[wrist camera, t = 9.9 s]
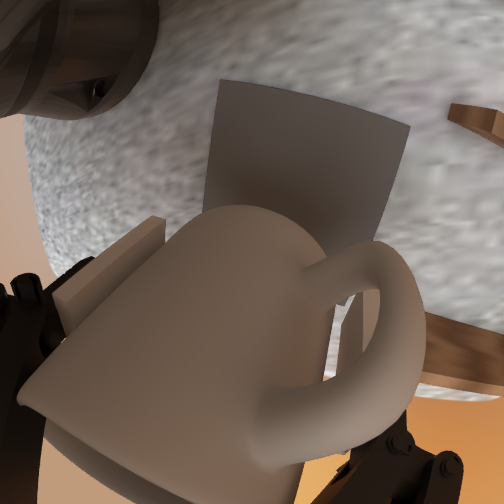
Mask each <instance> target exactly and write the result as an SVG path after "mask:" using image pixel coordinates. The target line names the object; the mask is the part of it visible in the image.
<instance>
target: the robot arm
mask: <svg viewBox="0 0 504 504" xmlns="http://www.w3.org/2000/svg"><path fill="white" fill-rule="evenodd" d="M158 14H159V13H158V3H157V0H0V118H3V117H7V116H10V115H14V114H27V115H34V116H40V117H47V118H53V119H59V120H78V119H82V118H86V117H91V116H95V115H98V114H101V113H103V112H105V111H107V110H109V109H111V108H112V107H114V106H115V105H116V104H117V103H119V102H120V101H121V100H122V99H123V98H124V97H125V96H126V95H127V94H128V93H129V92H130V90H131V89H132V88H133V87H134V85H135V84H136V82H137V81H138V79H139V78H140V76H141V74H142V73H143V71H144V69H145V67H146V65H147V63H148V61H149V58H150V56H151V53H152V50H153V47H154V43H155V40H156V35H157V29H158ZM165 227H166V219H162V218H159V217H156V216H151V217H149V218H148V219H147V220H145V221H144V222H142V223H141V224H140V225H138V226H137V227H136V228H134V229H133V230H131V231H130V232H129V233H127V234H126V235H125V236H123V237H122V238H121V239H119V240H118V241H117V242H115V243H114V244H113V245H111V246H110V247H109V248H108V249H106V250H105V251H104V252H102V253H101V254H100V255H98V256H97V257H96V258H95V257H92V256H90V257H88V258H85V259H83V260H80V261H79V262H78V263H77V264H75V265H74V266H73V267H72V269H71V268H70V269H69V270H68V271H66V272H65V274H63V275H61V276H60V277H59V278H58V279H57V280H56V281H54V282H53V283H52V284H50V285H49V286H48V287H47V288H46V289H45V290H43V289H42V285H41V281H40V278H39V276H37V275H36V274H33V273H24V274H21V275H18V276H17V277H15V278H14V279H13V280H12V281H11V282H10V284H11V287H12V290H13V293H14V296H13V295H8V294H7V292H6V289H5V287H4V285H3V284H1V283H0V504H37V491H38V477H39V467H40V458H41V450H42V443H43V436H44V430H45V424H46V417H45V416H43V415H42V414H40V413H39V412H37V411H35V410H34V409H32V408H30V407H28V406H26V405H23V406H20V405H19V404H18V402H17V395H18V392H19V391H20V389H21V387H22V386H23V385H24V384H25V382H26V381H27V380H28V379H29V378H30V376H31V375H32V374H33V373H34V372H35V371H36V370H37V369H38V368H39V366H40V365H41V364H42V363H43V362H44V361H45V360H46V359H47V358H48V357H49V356H50V355H51V354H52V352H53V351H54V350H55V349H56V348H57V347H58V346H59V345H60V344H61V342H62V341H63V340H64V338H67V337H68V336H69V335H70V334H71V333H72V332H73V331H74V330H75V329H76V328H77V327H78V326H79V325H80V324H81V323H82V322H83V321H84V320H85V319H86V318H87V317H88V316H89V315H90V314H91V313H92V312H93V311H94V310H95V309H96V308H97V307H98V306H99V305H100V304H101V303H102V302H103V301H104V300H105V299H106V298H107V297H108V296H109V295H110V294H111V293H112V292H113V291H114V290H115V289H116V288H117V287H118V286H120V285H121V284H122V283H123V282H124V281H125V280H126V279H127V278H128V277H129V276H130V275H131V274H132V273H133V272H134V271H136V270H137V269H138V268H139V267H140V266H141V265H142V264H143V263H144V262H145V261H146V260H147V259H149V258H150V257H151V256H152V255H153V254H154V253H155V252H156V251H157V250H158V249H159V248H161V247H162V246H163V245H164V244H165ZM379 308H380V292H379V290H377V289H371V290H365V291H362V292H359V293H357V294H356V295H355V297H354V300H353V302H352V304H351V306H350V308H349V310H348V312H347V314H346V316H345V319H344V321H343V323H342V325H341V333H340V343H339V352H338V361H337V369H336V375H338V374H340V373H341V372H343V371H344V370H346V369H347V368H348V367H350V366H351V365H352V364H353V363H354V362H355V361H356V360H357V359H358V358H359V357H360V356H361V354H362V353H363V352H364V351H365V349H366V347H367V345H368V343H369V342H370V340H371V338H372V336H373V333H374V330H375V327H376V324H377V321H378V315H379ZM406 422H407V421H406V409H405V411H404V412H403V413H402V415H401V416H400V417H399V418H398V420H397V421H396V422H395V423H393V424H392V425H391V426H390V427H389V428H387V429H386V430H385V431H384V432H383V433H381V434H380V435H378V436H377V437H375V438H373V439H371V440H369V441H368V442H366V443H364V444H362V445H359V446H357V447H354V448H352V449H351V453H350V460H349V461H347V462H346V463H345V464H344V465H342V466H341V467H339V468H338V469H337V470H336V471H337V472H338V473H337V474H336V475H335V476H334V478H333V479H332V480H331V481H330V482H329V484H328V485H327V486H326V487H325V488H324V489H323V491H322V492H321V493H320V494H319V495H318V496H317V497H316V498H315V499H314V500H313V502H312V503H311V504H458V500H459V495H460V490H461V485H462V479H463V472H464V470H463V463H462V460H461V458H460V457H459V456H458V455H457V454H456V453H454V452H452V451H443V452H441V453H439V454H438V455H433V454H432V453H429V452H427V451H425V450H423V449H421V448H419V447H418V446H416V445H415V441H414V438H413V436H412V435H411V433H409V432H408V431H407V425H406V424H407V423H406ZM349 450H350V449H349ZM349 450H346V451H343V452H340V453H337V454H341V455H345V454H346V453H347V452H348V451H349Z"/></svg>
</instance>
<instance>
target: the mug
mask: <svg viewBox="0 0 504 504" xmlns="http://www.w3.org/2000/svg"><path fill="white" fill-rule="evenodd" d="M371 289H377V290H379V292H380V308H379V315H378V321H377V324H376V327H375V330H374V333H373V336H372V338H371V340H370V342H369V343H368V345H367V347H366V349H365V351H364V352H363V353H362V354H361V356H360V357H359V358H358V359H357V360H356V361H355V362H354V363H353V364H352V365H351V366H350V367H348V368H347V369H346V370H344V371H343V372H341V373H340V374H338V375H336V376H334V377H332V378H330V379H328V380H326V381H323V376H324V370H325V364H326V359H327V353H328V347H329V341H330V335H331V330H332V324H333V319H334V313H335V306H336V304H338V303H339V302H341V301H343V300H345V299H346V298H348V297H350V296H352V295H355V294H357V293H359V292H362V291H365V290H371ZM425 350H426V320H425V313H424V307H423V302H422V299H421V295H420V292H419V289H418V287H417V284H416V281H415V278H414V276H413V274H412V272H411V270H410V269H409V267H408V265H407V264H406V262H405V261H404V259H403V258H402V257H401V256H400V255H399V254H398V253H397V252H396V251H395V250H394V249H393V248H392V247H390V246H389V245H387V244H385V243H383V242H380V241H366V242H361V243H357V244H354V245H351V246H349V247H346V248H344V249H342V250H340V251H338V252H336V253H334V254H332V255H330V256H328V257H327V256H326V255H325V253H324V251H323V250H322V248H321V247H320V245H319V244H318V243H317V242H316V241H315V239H314V238H313V237H312V236H311V235H310V234H309V233H308V232H307V231H306V230H304V229H303V228H302V227H301V226H299V225H298V224H296V223H295V222H294V221H292V220H290V219H288V218H287V217H285V216H283V215H281V214H279V213H276V212H274V211H271V210H268V209H264V208H261V207H257V206H249V205H229V206H222V207H218V208H214V209H211V210H208V211H206V212H204V213H202V214H199V215H198V216H196V217H195V218H193V219H192V220H190V221H189V222H188V223H186V224H185V225H184V226H183V227H182V228H181V229H180V230H178V231H177V232H176V233H175V234H174V235H173V236H172V237H171V238H170V239H169V240H168V241H167V242H166V243H165V244H164V245H163V246H162V247H161V248H159V249H158V250H157V251H156V252H155V253H154V254H153V255H152V256H151V257H150V258H149V259H147V260H146V261H145V262H144V263H143V264H142V265H141V266H140V267H139V268H138V269H137V270H136V271H134V272H133V273H132V274H131V275H130V276H129V277H128V278H127V279H126V280H125V281H124V282H123V283H122V284H121V285H120V286H118V287H117V288H116V289H115V290H114V291H113V292H112V293H111V294H110V295H109V296H108V297H107V298H106V299H105V300H104V301H103V302H102V303H101V304H100V305H99V306H98V307H97V308H96V309H95V310H94V311H93V312H92V313H91V314H90V315H89V316H88V317H87V318H86V319H85V320H84V321H83V322H82V323H81V324H80V325H79V326H78V327H77V328H76V329H75V330H74V331H73V332H72V333H71V334H70V335H69V336H68V337H67V338H66V339H65V340H64V341H63V342H62V343H61V344H60V345H59V346H58V347H57V348H56V349H55V350H54V351H53V352H52V354H51V355H50V356H49V357H48V358H47V359H46V360H45V361H44V362H43V363H42V364H41V365H40V366H39V368H38V369H37V370H36V371H35V372H34V373H33V374H32V375H31V376H30V378H29V379H28V380H27V381H26V382H25V384H24V385H23V386H22V387H21V389H20V391H19V392H18V395H17V402H18V404H19V405H20V406H23V405H26V406H28V407H30V408H32V409H34V410H35V411H37V412H39V413H40V414H42V415H43V416H45V417H46V424H45V430H44V436H43V437H44V438H45V439H46V440H47V441H48V442H49V443H50V444H52V445H53V446H54V447H55V448H56V449H57V450H58V451H59V452H60V453H62V454H63V455H64V456H65V457H67V458H68V459H69V460H70V461H71V462H73V463H74V464H75V465H76V466H78V467H79V468H80V469H82V470H83V471H85V472H86V473H87V474H89V475H90V476H91V477H93V478H94V479H96V480H98V481H99V482H100V483H102V484H103V485H105V486H106V487H108V488H110V489H111V490H113V491H114V492H116V493H118V494H120V495H121V496H123V497H125V498H127V499H128V500H130V501H132V502H134V503H136V504H294V500H295V497H296V493H297V490H298V487H299V483H300V479H301V475H302V472H303V468H304V464H305V462H306V461H310V460H314V459H319V458H323V457H326V456H330V455H333V454H337V453H340V452H343V451H346V450H349V449H352V448H354V447H357V446H359V445H362V444H364V443H366V442H368V441H369V440H371V439H373V438H375V437H377V436H378V435H380V434H381V433H383V432H384V431H385V430H386V429H387V428H389V427H390V426H391V425H392V424H393V423H395V422H396V421H397V420H398V418H399V417H400V416H401V415H402V413H403V412H404V411H405V409H406V408H407V406H408V405H409V404H410V402H411V401H412V398H413V396H414V393H415V391H416V389H417V386H418V383H419V381H420V378H421V374H422V368H423V363H424V357H425ZM322 381H323V382H322Z"/></svg>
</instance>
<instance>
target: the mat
mask: <svg viewBox="0 0 504 504" xmlns="http://www.w3.org/2000/svg"><path fill="white" fill-rule="evenodd" d="M409 131H410V126H408V125H405V124H403V123H400V122H397V121H394V120H392V119H389V118H386V117H383V116H380V115H377V114H374V113H371V112H368V111H365V110H361V109H358V108H355V107H351V106H348V105H345V104H341V103H337V102H334V101H330V100H326V99H322V98H318V97H314V96H310V95H306V94H301V93H297V92H292V91H288V90H283V89H278V88H273V87H267V86H262V85H256V84H250V83H243V82H236V81H229V80H220V85H219V91H218V97H217V103H216V110H215V117H214V123H213V130H212V137H211V145H210V152H209V160H208V168H207V176H206V184H205V193H204V202H203V211H202V213H204V212H206V211H208V210H211V209H214V208H218V207H222V206H229V205H249V206H257V207H261V208H264V209H268V210H271V211H274V212H276V213H279V214H281V215H283V216H285V217H287V218H288V219H290V220H292V221H294V222H295V223H296V224H298V225H299V226H301V227H302V228H303V229H304V230H306V231H307V232H308V233H309V234H310V235H311V236H312V237H313V238H314V239H315V241H316V242H317V243H318V244H319V245H320V247H321V248H322V250H323V251H324V253H325V255H326V256H327V257H328V256H330V255H332V254H334V253H336V252H338V251H340V250H342V249H344V248H346V247H349V246H351V245H354V244H357V243H361V242H366V241H373V238H374V235H375V233H376V230H377V228H378V225H379V222H380V220H381V217H382V214H383V212H384V209H385V206H386V203H387V200H388V197H389V195H390V192H391V189H392V186H393V183H394V180H395V177H396V174H397V171H398V167H399V164H400V161H401V158H402V155H403V151H404V148H405V145H406V141H407V138H408V134H409ZM347 300H348V298H346V299H345V300H343V301H341V302H339V303H338V305H341V306H345V304H346V302H347Z"/></svg>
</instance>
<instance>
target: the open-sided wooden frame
mask: <svg viewBox="0 0 504 504" xmlns="http://www.w3.org/2000/svg"><path fill="white" fill-rule="evenodd" d="M448 120H450V121H452V122H454V123H457V124H459V125H461V126H463V127H465V128H467V129H469V130H471V131H473V132H475V133H477V134H479V135H481V136H483V137H484V138H486V139H488V140H490V141H492V142H494V143H495V144H497V145H499V146H501V147H502V148H504V114H503V113H502V112H500V111H498V110H495V109H489V108H483V107H476V106H469V105H461V104H453V103H452V104H451V108H450V112H449V116H448ZM424 313H425V320H426V350H425V357H424V363H423V368H422V374H421V378H420V381H419V383H424V384H429V385H434V386H439V387H445V388H450V389H456V390H462V391H468V392H475V393H481V394H488V395H496V396H504V335H501V334H498V333H495V332H491V331H488V330H484V329H481V328H477V327H474V326H471V325H467V324H464V323H460V322H457V321H454V320H450V319H447V318H443V317H440V316H437V315H433V314H430V313H426V312H424Z"/></svg>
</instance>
